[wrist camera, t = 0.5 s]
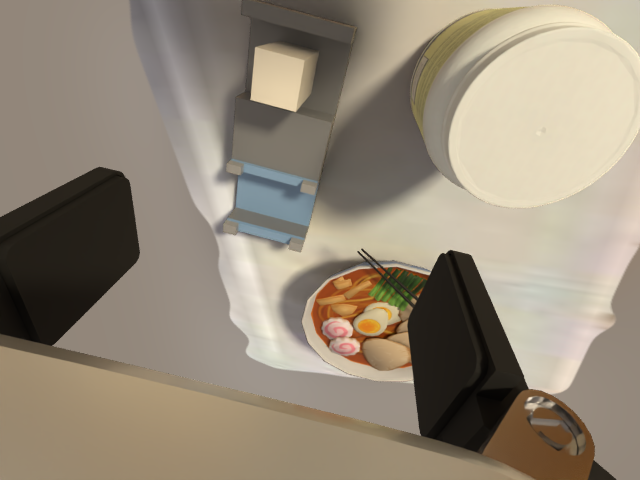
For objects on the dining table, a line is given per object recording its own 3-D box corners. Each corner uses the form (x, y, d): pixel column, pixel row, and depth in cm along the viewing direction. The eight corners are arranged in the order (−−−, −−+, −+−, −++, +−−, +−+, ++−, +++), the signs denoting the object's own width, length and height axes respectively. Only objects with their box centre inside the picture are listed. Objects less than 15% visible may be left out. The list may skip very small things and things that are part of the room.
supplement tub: (396, 135, 37) (409, 207, 23) (427, 1, 30) (471, -12, 16) (508, 150, 36) (590, 234, 22) (566, 16, 29) (738, 17, 15)
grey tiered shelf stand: (255, -1, 32) (235, -3, 27) (356, 27, 32) (353, 28, 27) (238, 210, 45) (222, 231, 41) (308, 229, 45) (300, 252, 41)
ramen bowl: (275, 278, 52) (260, 318, 45) (394, 193, 41) (398, 228, 34) (376, 362, 60) (376, 406, 53) (498, 309, 49) (518, 356, 42)
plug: (279, 40, 32) (255, 47, 26) (319, 51, 32) (304, 60, 26) (274, 84, 35) (250, 99, 28) (310, 93, 35) (295, 112, 28)
